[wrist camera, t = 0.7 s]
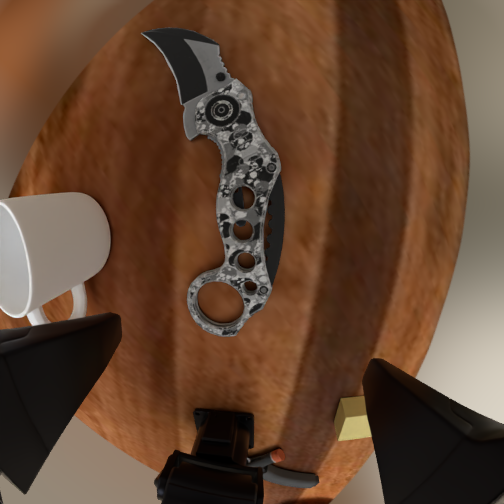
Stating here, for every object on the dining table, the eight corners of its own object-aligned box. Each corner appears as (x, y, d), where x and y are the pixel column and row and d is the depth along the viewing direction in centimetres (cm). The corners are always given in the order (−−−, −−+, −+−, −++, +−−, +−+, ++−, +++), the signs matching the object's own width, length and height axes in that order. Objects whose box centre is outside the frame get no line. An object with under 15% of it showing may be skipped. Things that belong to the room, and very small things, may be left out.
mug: (133, 310, 23) (69, 371, 13) (74, 312, 24) (11, 357, 14) (105, 181, 21) (17, 184, 11) (48, 202, 21) (-29, 215, 11)
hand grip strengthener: (322, 487, 25) (277, 441, 23) (243, 502, 27) (183, 459, 25) (320, 476, 28) (277, 426, 25) (244, 492, 29) (187, 446, 27)
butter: (366, 418, 24) (372, 436, 21) (333, 422, 25) (337, 441, 22) (375, 394, 23) (383, 412, 20) (340, 397, 24) (345, 417, 21)
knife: (137, 30, 16) (246, -3, 14) (144, 37, 17) (249, 6, 16) (183, 339, 22) (301, 333, 20) (189, 330, 24) (300, 323, 22)
